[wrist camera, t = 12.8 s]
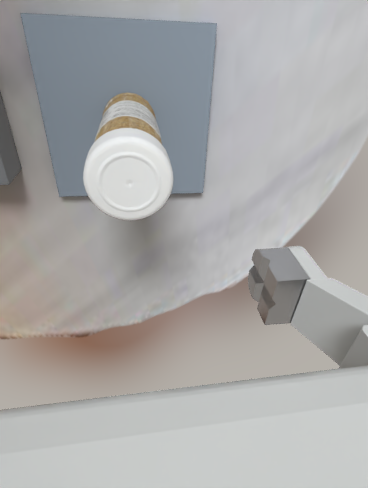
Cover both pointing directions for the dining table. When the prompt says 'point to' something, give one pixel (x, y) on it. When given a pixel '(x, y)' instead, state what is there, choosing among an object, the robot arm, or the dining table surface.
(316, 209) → the dining table surface
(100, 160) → the sprinkles bottle
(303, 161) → the dining table surface
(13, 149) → the power strip
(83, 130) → the rubber mat
